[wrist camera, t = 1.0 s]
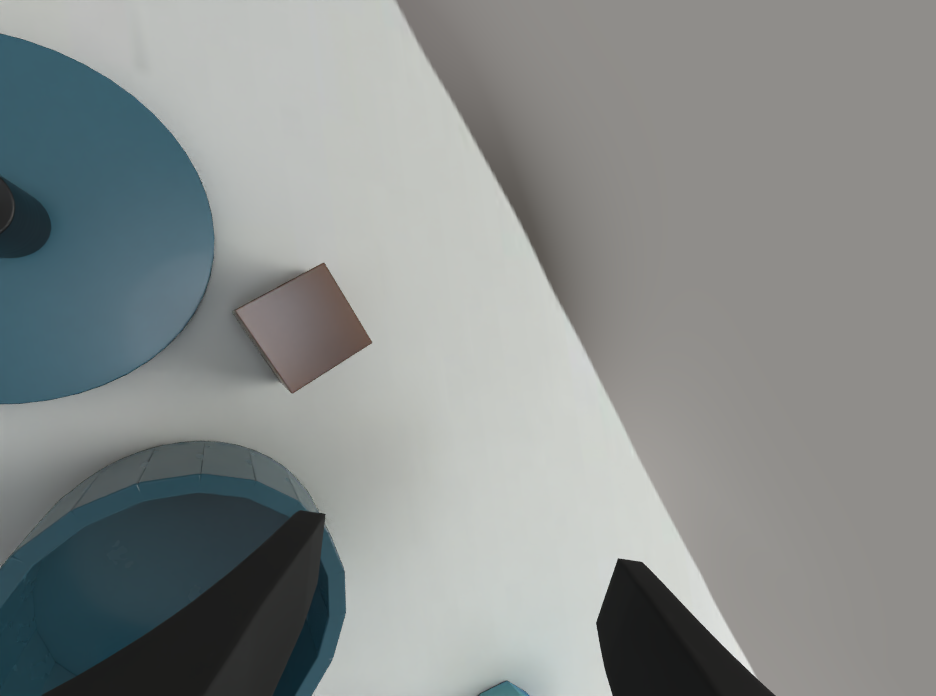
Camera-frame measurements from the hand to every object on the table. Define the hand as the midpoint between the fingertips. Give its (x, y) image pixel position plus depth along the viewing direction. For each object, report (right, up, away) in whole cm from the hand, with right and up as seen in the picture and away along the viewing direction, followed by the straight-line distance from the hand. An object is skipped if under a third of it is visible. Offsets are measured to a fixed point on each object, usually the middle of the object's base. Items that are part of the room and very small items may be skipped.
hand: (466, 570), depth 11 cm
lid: (-17, +10, +6) cm, 21 cm away
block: (-8, +6, +12) cm, 16 cm away
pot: (-13, -5, +10) cm, 17 cm away
